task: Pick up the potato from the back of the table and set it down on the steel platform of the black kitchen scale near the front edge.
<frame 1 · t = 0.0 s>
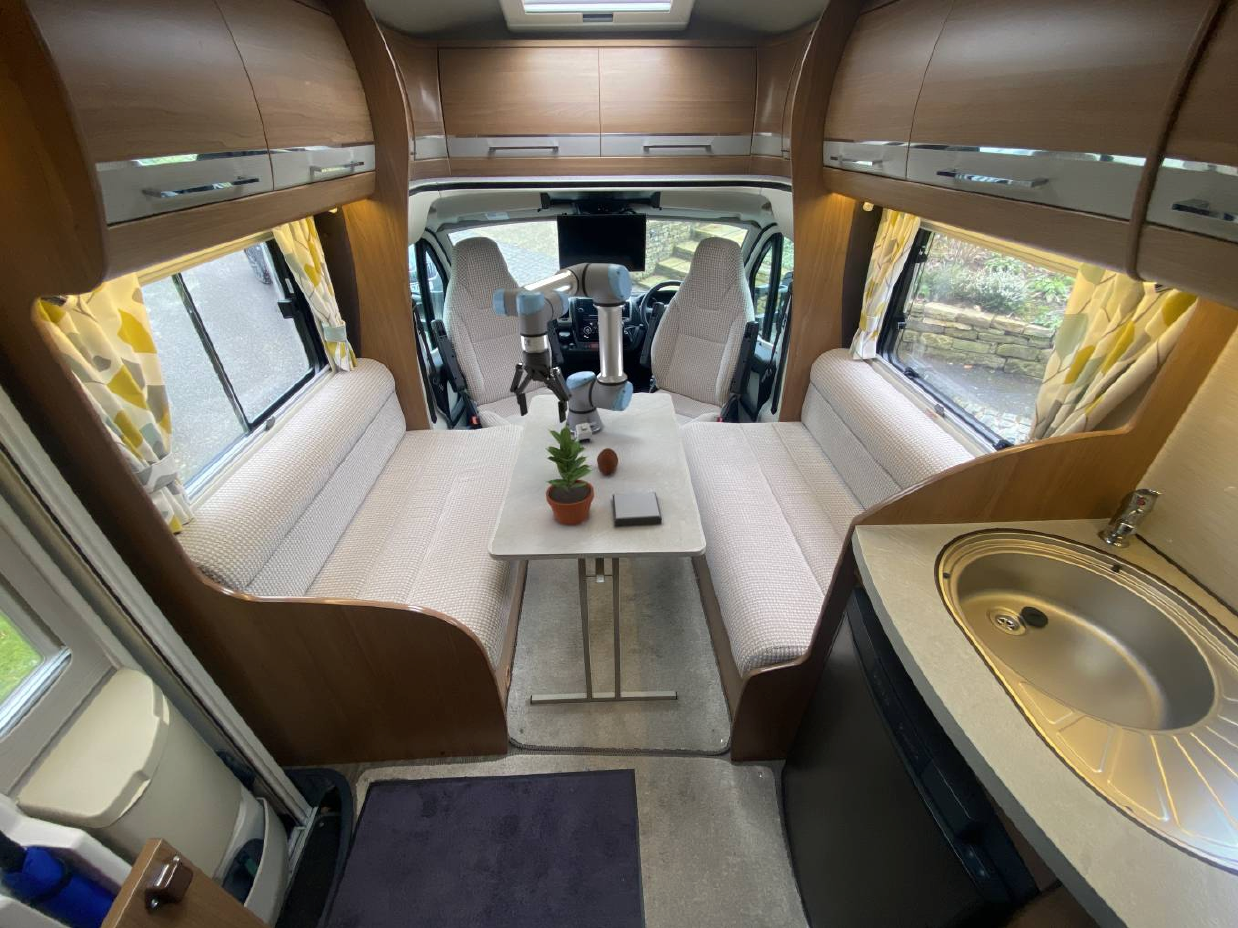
hand: (543, 417, 151), 28 cm above the table, tool pointing down, fingers open, 13 cm apart
scale: (636, 511, 155), on the table
potted plant: (573, 515, 155), on the table
tape dispenser: (583, 442, 197), on the table
potato: (607, 470, 178), on the table
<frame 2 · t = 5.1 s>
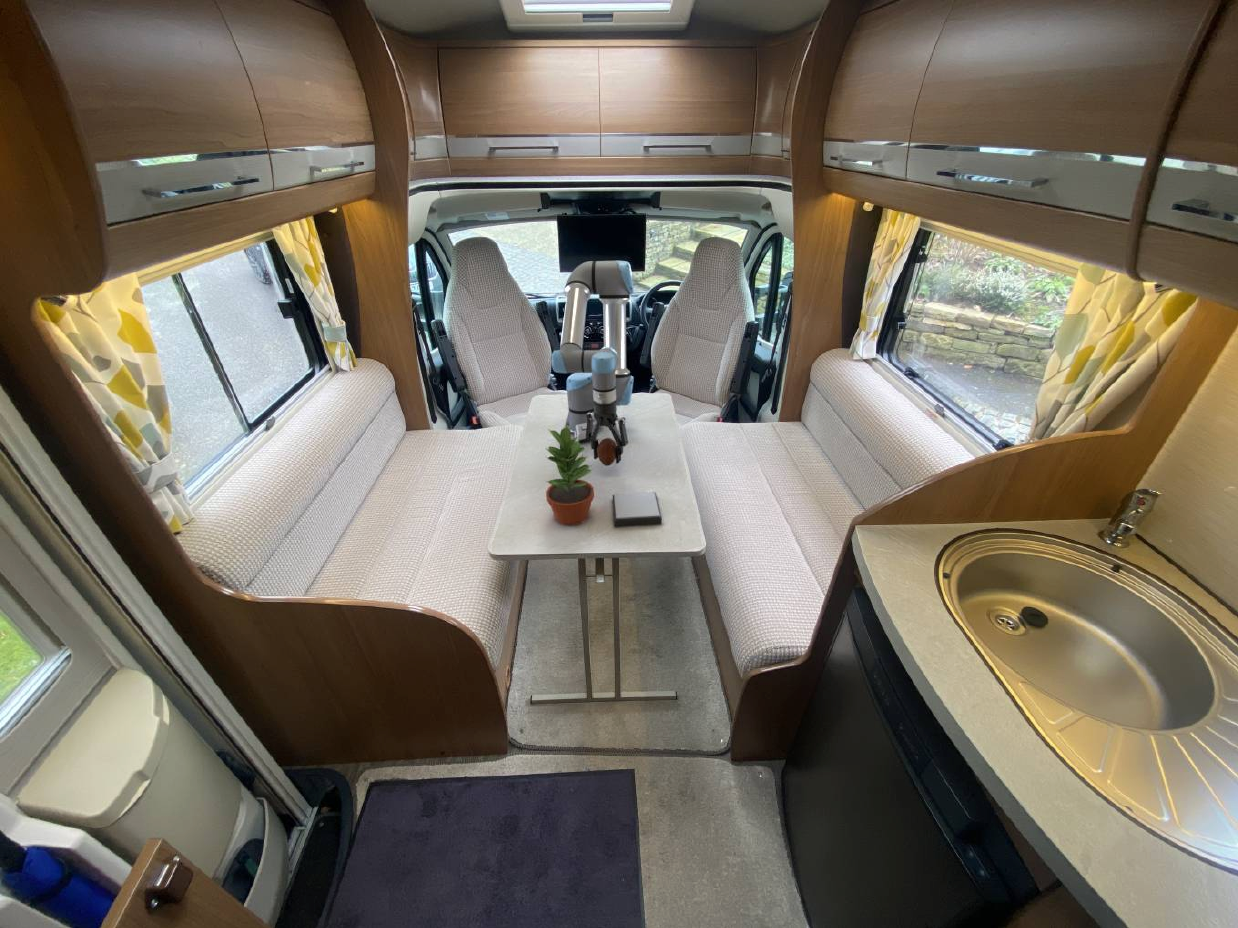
hand: (607, 459, 176), 4 cm above the table, tool pointing down, fingers closed on potato, 8 cm apart
potato: (607, 460, 176), point 4 cm above the table, touching gripper
everything else where it was.
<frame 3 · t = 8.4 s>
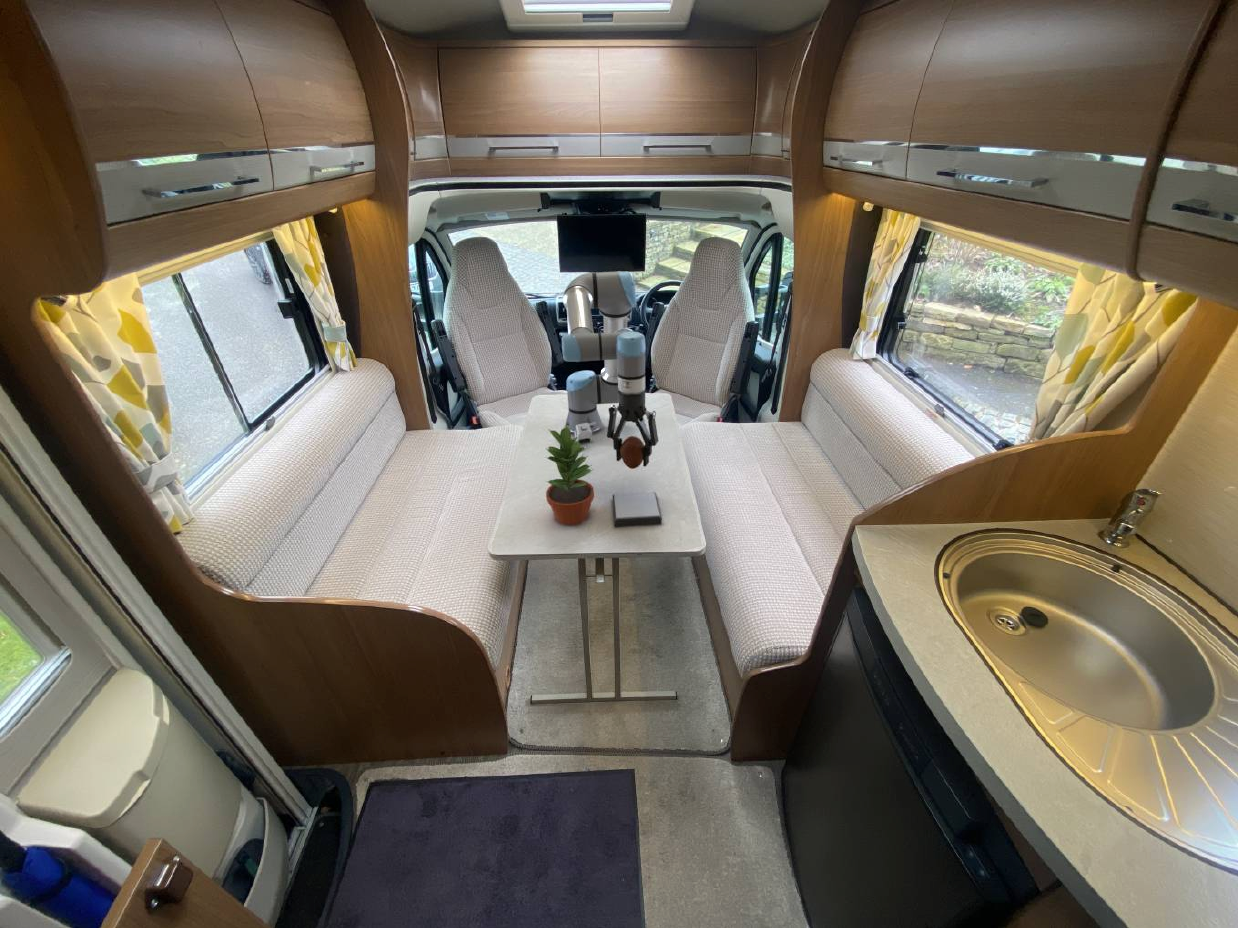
hand: (632, 461, 149), 17 cm above the table, tool pointing down, fingers closed on potato, 8 cm apart
potato: (632, 462, 149), point 16 cm above the table, touching gripper
everything else where it was.
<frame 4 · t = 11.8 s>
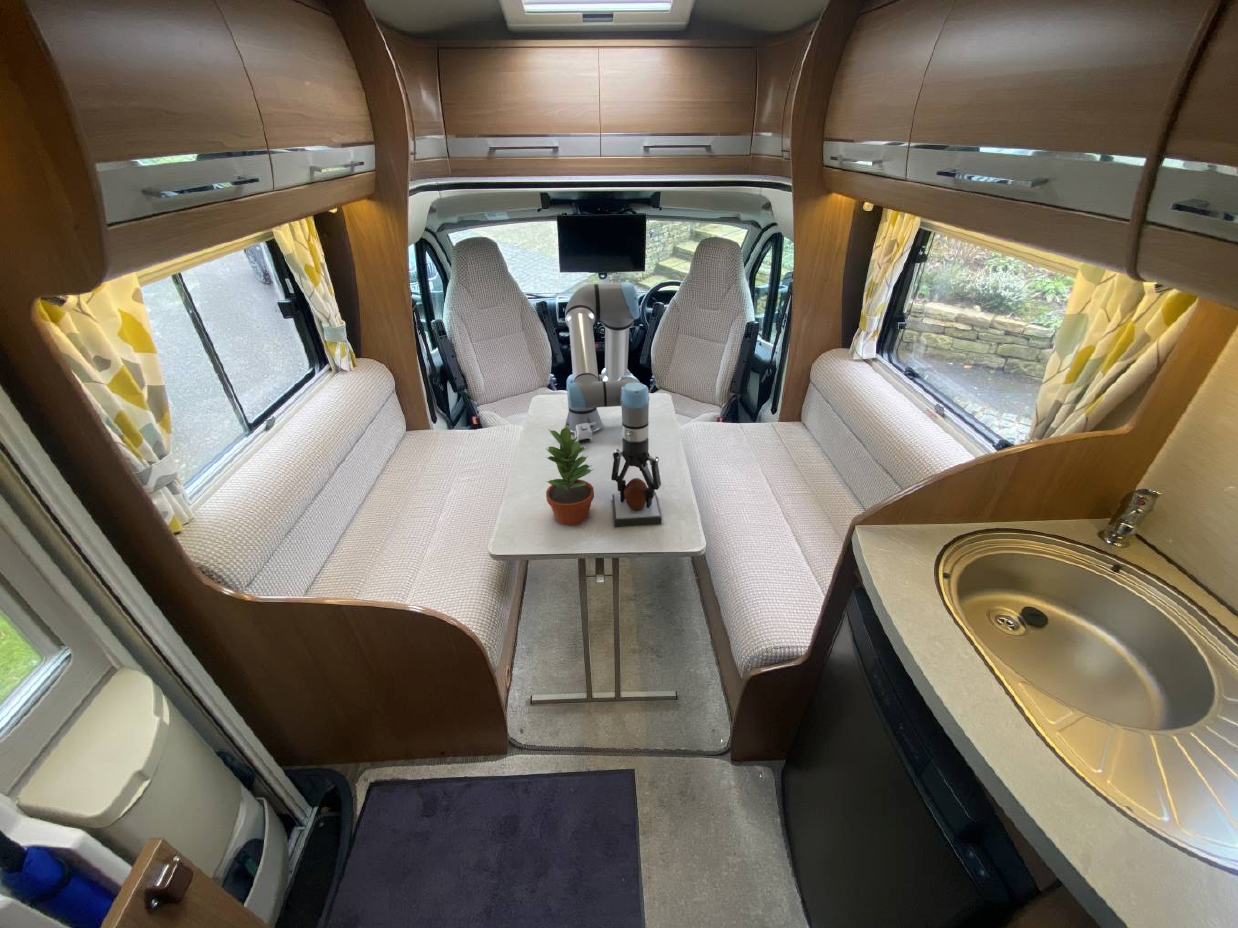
hand: (636, 502, 154), 3 cm above the table, tool pointing down, fingers closed on potato, 8 cm apart
potato: (636, 503, 154), point 3 cm above the table, touching gripper
everything else where it was.
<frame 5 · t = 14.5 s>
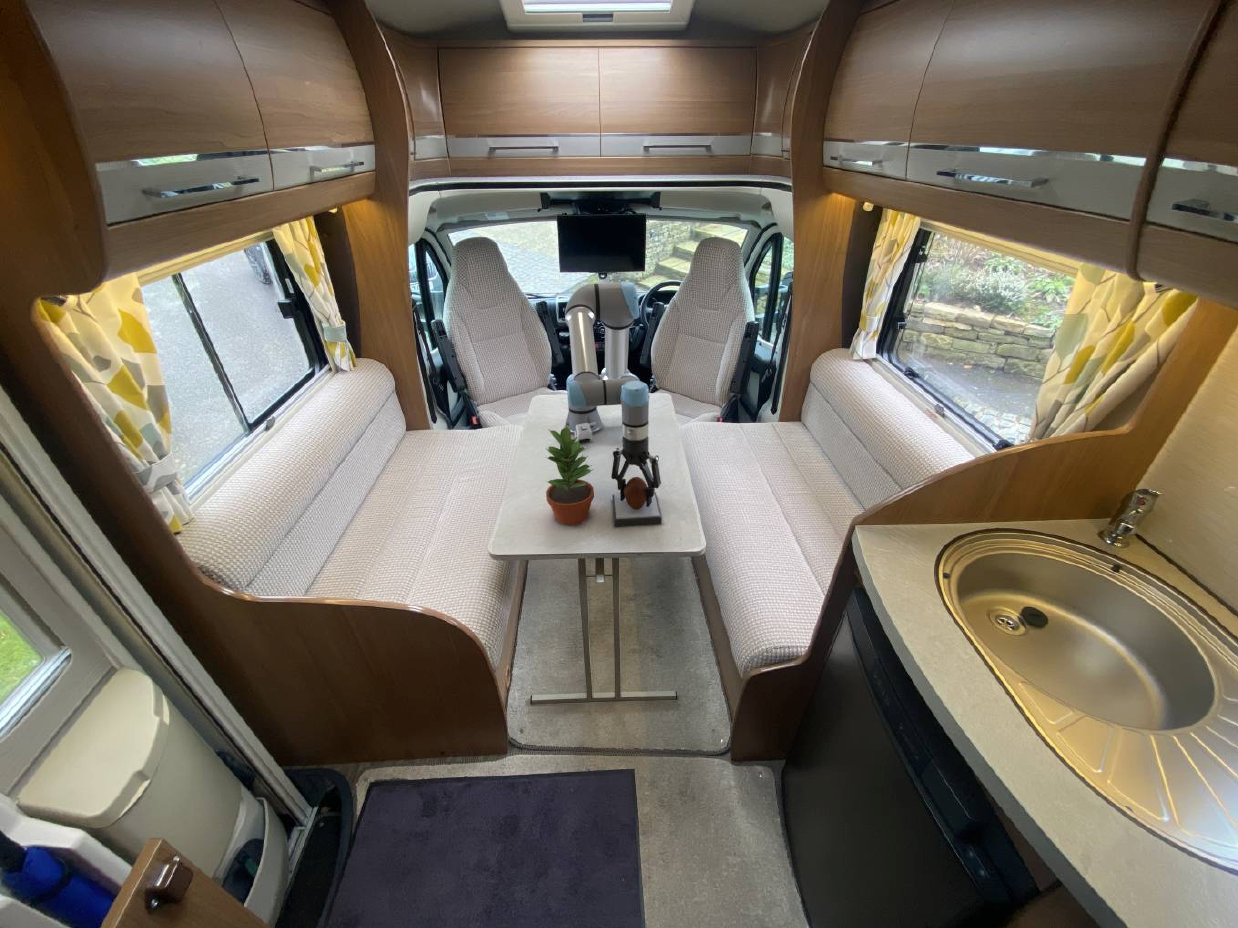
hand: (636, 501, 153), 4 cm above the table, tool pointing down, fingers closed on potato, 8 cm apart
potato: (636, 502, 154), point 3 cm above the table, touching gripper
everything else where it was.
when the fingers open (4 cm above the table, at t = 17.0 s): potato stays where it is, resting on scale.
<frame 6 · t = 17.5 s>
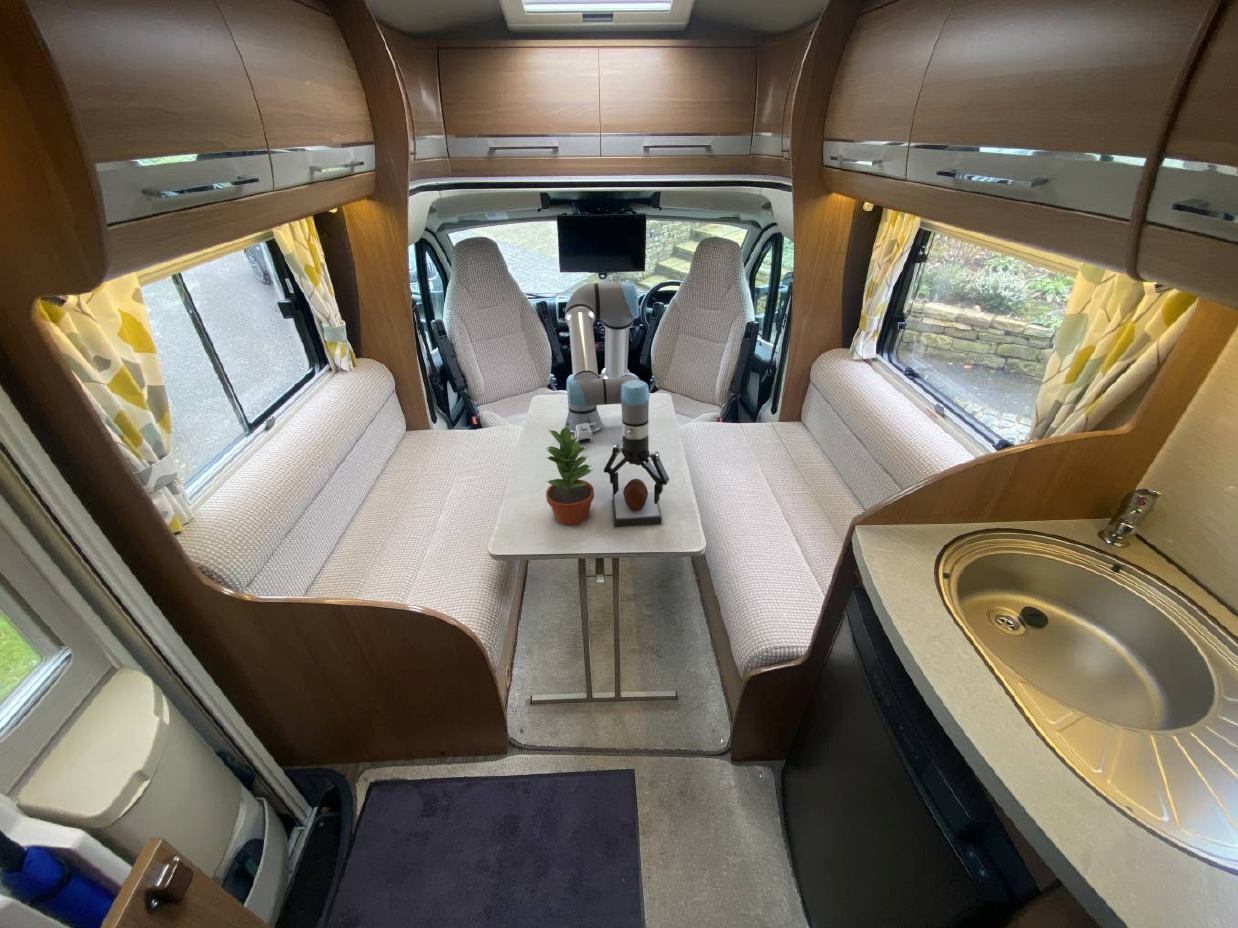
hand: (636, 496, 152), 6 cm above the table, tool pointing down, fingers open, 13 cm apart
potato: (635, 504, 154), point 3 cm above the table, touching scale
everything else where it was.
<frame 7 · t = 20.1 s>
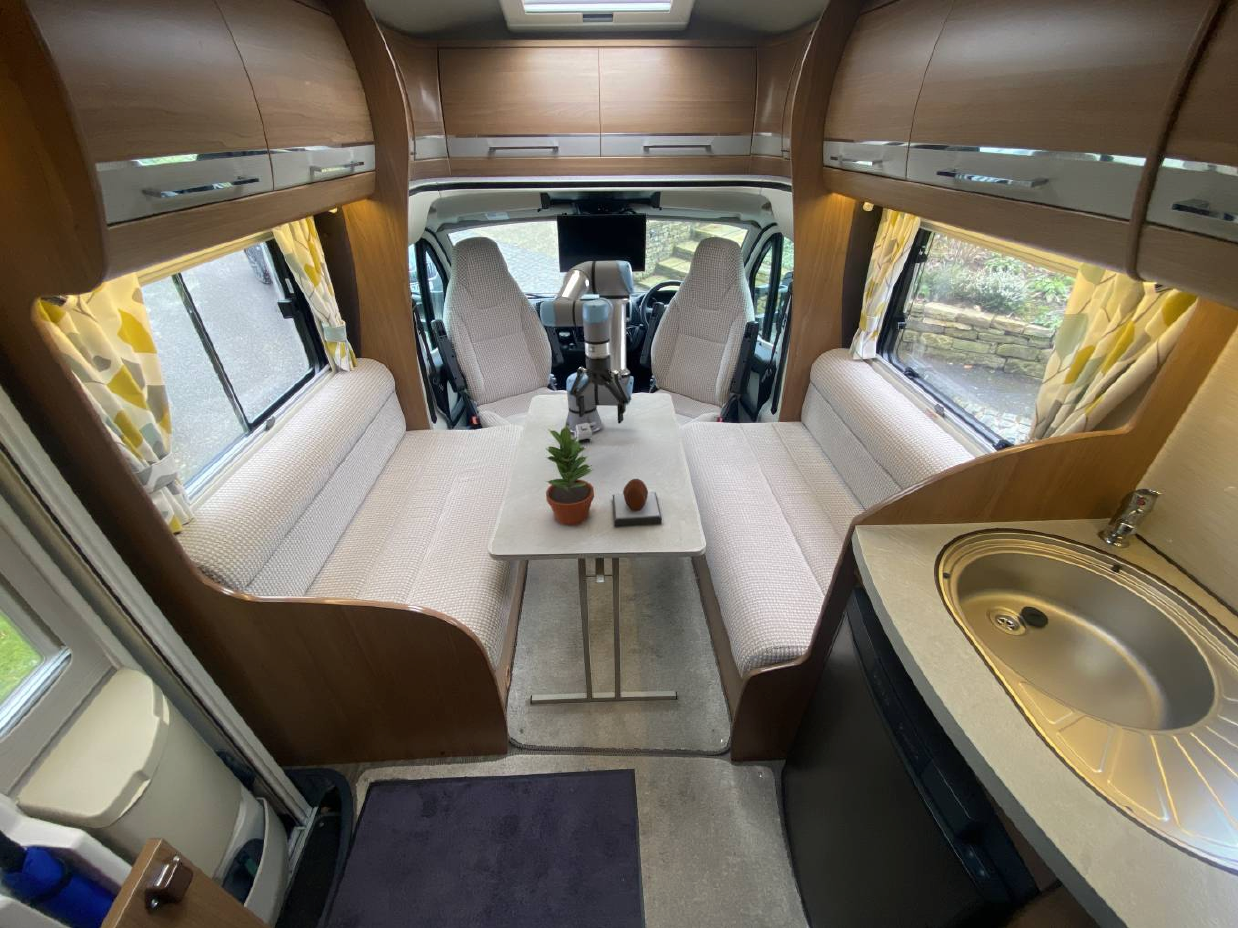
hand: (601, 418, 160), 23 cm above the table, tool pointing down, fingers open, 13 cm apart
nothing on the table moved.
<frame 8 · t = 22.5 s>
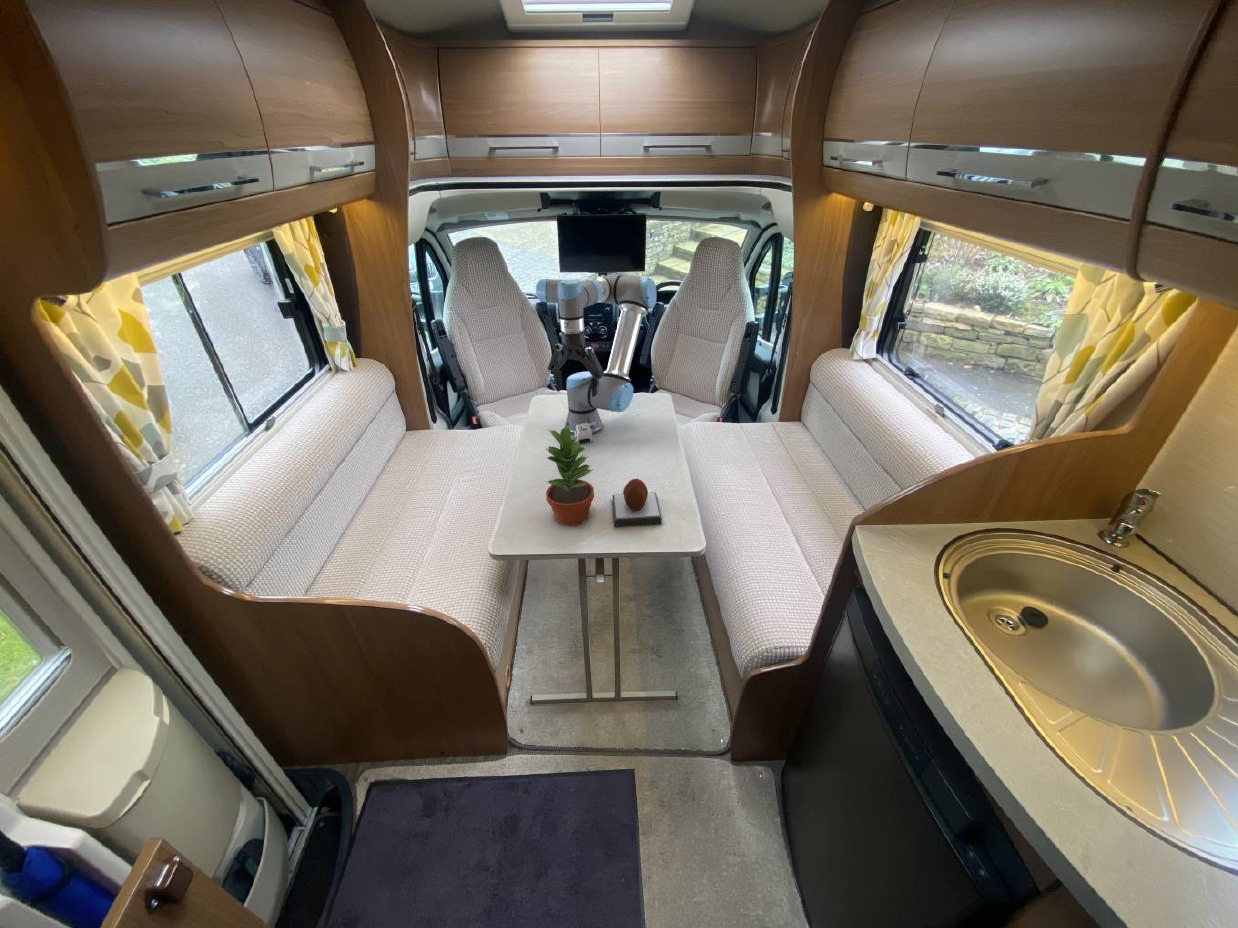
hand: (577, 392, 171), 27 cm above the table, tool pointing down, fingers open, 13 cm apart
nothing on the table moved.
at the end: potato inside the target area on the scale (0.2 cm from its centre), point 2.8 cm above the scale's base; potato touching scale; the gripper is holding nothing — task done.
